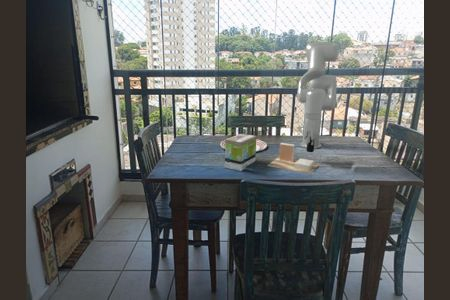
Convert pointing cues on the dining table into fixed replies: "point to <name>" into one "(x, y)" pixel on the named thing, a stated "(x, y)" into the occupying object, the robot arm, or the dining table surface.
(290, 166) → the striped wooden board
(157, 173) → the dining table surface
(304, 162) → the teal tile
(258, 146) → the dinner plate
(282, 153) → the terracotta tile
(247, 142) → the tea box
